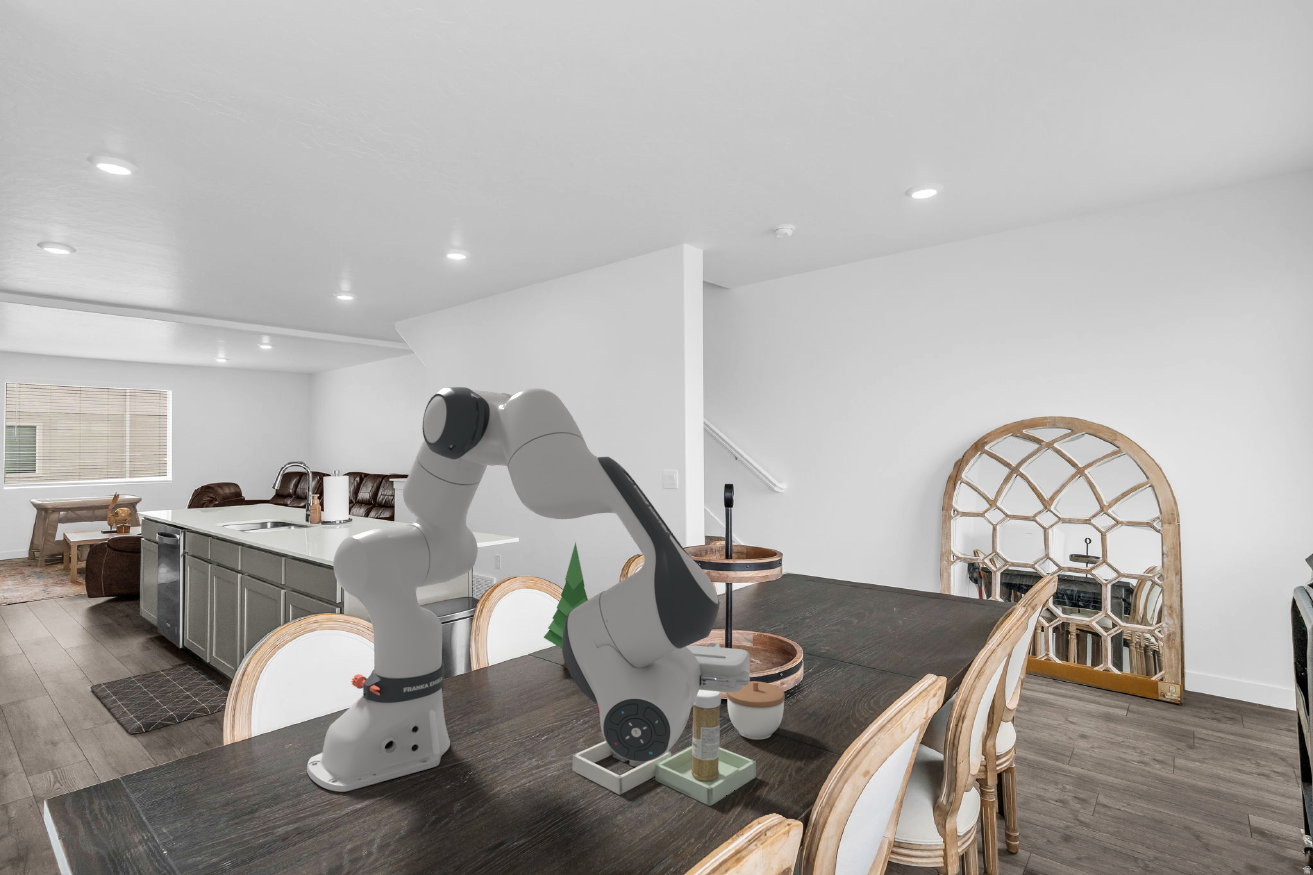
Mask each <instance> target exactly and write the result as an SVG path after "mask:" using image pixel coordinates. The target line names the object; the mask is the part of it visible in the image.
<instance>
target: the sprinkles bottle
mask: <svg viewBox="0 0 1313 875" xmlns="http://www.w3.org/2000/svg"><path fill="white" fill-rule="evenodd" d="M721 693H722V692H719V691H708V690H699V691H698V694H697V696H696V699H695V702H694V704H693V706H692V708H693V709H692V710H693V711H692V714H693V715H692V734H691V735H692V736H691V737H692V739H691V741H692V743H691V746H692V754H693V755H692V770H691V773H692V775H693V777H694V778H696V779H698V780H702V781H710V780H714V779H716V778H717V777H718V776H719V770H718V764H719V759H718V758H719V747H720V735H721V734H720V733H721V732H720V731H721V730H720V726H721V724H720V707H721V704H722V703H721V702H722V699H721V698H722V695H721Z"/></svg>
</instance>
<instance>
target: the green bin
mask: <svg viewBox="0 0 1313 875" xmlns="http://www.w3.org/2000/svg"><path fill="white" fill-rule="evenodd" d="M692 755H693V754H692V745H691V746H689V747H687V748H685V749H683V750H681V751H679V752H677V753H675V754H674V755H671V757H670V758H668V759H666V760H664V761H662V762H660V763H658V764H656V767H655V776H654V777H655V778H654V779H655V781H656V782H657V783H660V784H662V785H664V786H665V787H668V788H670V789H672V790H675V791H677V792H679V793H681V794H683V795H685V796H687V797H690V798H691V799H694V800H695V801H698V802H700V803H702V804H705V805H706V806H709V807H712V806H713V805H714V804H717V803H718V802H719V801H721V800H722V799H724V798H726V797H727V796H728V795H730V794H732V793H733V792H735V791H737V790H738V789H739V788H741V787H743V786H744V785H745V784H747V783H749V782H750V781H752V780H753V779H755V778H757V775H756V774H757V770H756V769H757V768H756V766H757V761H756V760H753V759H750V758H748V757H745V756H743V755H740V754H738V753H735V752H734V751H733V752H732V751H730V750H727V749H725V748H724V747H721V746H719V758H718V759H719V764H718V770H719V776H718V777H717V778H716V779H714V780H710V781H702V780H698V779H696V778H694V777H693V775H692V773H691V770H692ZM734 790H735V791H734ZM726 795H727V796H726Z"/></svg>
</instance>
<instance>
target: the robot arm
mask: <svg viewBox="0 0 1313 875" xmlns="http://www.w3.org/2000/svg"><path fill="white" fill-rule="evenodd" d="M422 436H423V438H424V439H423V442H422V443H421V445H420V447H419V450H418V452H417V455H416V456H415V460H414V461H413V464H412V467H411V469H410V471H409V474H408V476H407V478H406V481H405V483H404V486H403V487H402V488H403V489H402V496H403V501H404V504H405V506H406V507H407V509H408V511H409V512H411V514H413V516H415V517H416V518H415V520H414V521H413V522H411V524H407V525H399V526H390V527H389V526H388V527H380V528H379V527H378V528H373V529H369V530H365V531H363V532H359V533H356V534H353V535H351V536H347V537H346V538H344V539H343V540H342V541H341V542H340V543H339V545H338V547H337V549H336V551H335V554H334V556H333V564H332V565H333V573H334V577H335V580H336V581H337V583H338V585H339V586H340V588H342V589H343V590H344V591H345V592H346V593H347V594H349V595H350V596H352V597H354V598H355V599H356V600H358V601H359V602H360V603H361V605H362V606H363V607H364V609H365V610H366V612H367V615H368V616H369V620H370V621H371V626H372V632H373V633H372V634H373V650H374V651H373V652H374V655H373V656H374V662H373V663H374V665H373V668H374V669H373V670H371V673H370V675H368V677H366V676H363V674H359V673H358V674H355V675H354V676H353V678H352V679H351V685H353V687H355V688H357V689H359V690H360V689H361V690H362V691H363V692H362V693H363V694H362V695H361V696H360V697H359V698H358V699H357V700H356V701H355V702H354V703H353V704H352V705H351V707H348V709H347V710H346V711H344V713H343V714H341V715H340V716H339V717H338V718H337V719H336V720H335V721H333V722H332V723H331V724H330V725H329V727H328V729H327V731H326V734H325V737H324V742H323V746H322V747H323V748H322V752H320V753H318V754H316V755H314V756H311V757H310V758H309V760H308V762H307V766H306V772H307V774H308V777H309V778H310V779H311V780H312V781H313V782H314V783H316V784H317V785H318V786H319V787H322V788H324V789H326V790H329V791H333V792H339V793H340V792H341V793H344V792H345V793H346V792H349V791H353V790H357V789H361V788H364V787H368V786H371V785H375V784H379V783H382V782H384V781H389V780H392V779H396V778H399V777H403V776H407V775H411V774H414V773H418V772H420V771H426V770H428V769H431V768H435V767H437V766H439V765H440V763H441V758H442V756H443V755H444V754H445V753H446V752H447V751H448V750H449V748H450V746H451V740H450V738H449V733H448V730H447V725H446V717H445V711H444V703H443V702H444V701H443V693H444V689H445V664H444V663H443V662H442V661H443V660H442V659H443V658H442V655H443V651H442V650H443V624H442V622H441V619H440V617H438V616H437V614H435V613H434V612H432V611H431V610H429V609H427V608H424V607H422V606H420V603H419V602H418V597H417V588H422V587H427V586H432V585H437V584H442V583H447V582H450V581H452V580H454V579H456V578H460V577H461V576H463V575H466V574H468V573H469V572H470V571H472V569H473V568H474V566H475V564H476V563H477V562H476V561H477V557H478V543H477V539H476V537H475V535H474V533H473V532H472V530H471V529H470V528H469V527H468V526H467V516H468V512H469V510H470V506H471V505H472V504H471V503H472V501H473V500H474V497H475V495H476V493H477V490H478V488H479V486H480V483H481V481H482V478H483V476H484V474H485V472H486V470H487V467H488V466H491V467H492V466H493V467H494V466H502V467H503V466H505V467H506V468H507V469H508V473H509V476H510V480H511V482H512V485H513V488H514V491H515V493H516V496H518V498H519V500H520V502H521V504H522V505H524V506H525V507H526V508H527V509H528V510H529V511H531V512H532V513H534V514H536V515H538V516H540V517H541V516H542V517H543V518H544V517H545V518H548V519H554V520H555V519H556V520H573V519H578V518H582V517H586V516H592V515H596V514H597V515H598V514H599V515H600V514H615V515H616V516H617V517H618V519H619V520H620V522H621V523H622V525H623V527H624V528H625V529H626V531H627V532H628V534H629V535H630V537H631V538H632V540H633V542H634V543H635V545H637V547H638V549H639V550H640V552H641V553H642V554H643V558H644V561H643V564H642V566H641V568H639V570H638V571H636V572H635V573H633V574H631V575H629V576H628V577H626V578H625V579H623V580H621V581H619V582H618V583H616V584H615V585H612V586H611V587H609V588H608V589H606V590H603V591H602V592H599V593H598V594H597V595H594V596H593V597H591V598H590V599H589V598H588V601H586V602H584V603H583V604H581V605H579V606H578V607H576V608H575V609H573V610H571V611H570V612H569V614H568V616H567V618H566V621H565V624H564V629H563V638H562V648H561V652H562V656H563V657H562V658H563V661H565V664H566V666H567V668H566V669H567V670H568V673H569V674H570V677H571V678H572V680H573V682H574V683H575V684H576V685H577V687H578V688H579V689H580V691H581V693H583V694H584V695H585V697H587V698H588V699H589V700H590V701H592V702H593V703H594V704H595V705H596V706H597V705H598V706H599V712H600V715H599V724H600V729H601V730H600V731H601V734H602V736H603V739H604V741H606V743H607V744H608V746H609V747H610V749H611V750H612V751H613V752H614V753H616V754H617V755H619V756H620V757H622V758H624V759H627V760H628V761H630V760H631V761H636V762H647V761H651V760H654V759H657V758H659V757H661V756H663V755H664V754H665V753H667V752H668V751H670V750H671V749H672V747H674V745H675V743H677V741H678V740H679V738H680V737H681V735H682V733H683V732H684V730H685V727H686V726H687V723H688V720H689V717H690V714H691V710H692V708H693V704H694V702H695V699H696V696H697V694H698V691H699V690H708V691H719V692H720V693H727V692H736V691H739V690H741V689H742V688H743V687H744V686H747V685H748V684H749V681H751V676H750V669H751V668H750V665H751V664H750V663H751V655H750V652H748V651H747V650H745V649H742V648H728V647H721V644H720V643H715V642H709V644H708V646H706V645H693V644H694V643H697V642H699V641H701V640H704V639H706V638H708V637H709V636H710V634H711V632H712V630H713V628H714V625H715V622H716V621H717V617H718V615H719V614H718V613H719V609H720V605H721V604H720V600H719V597H718V593H717V591H716V588H715V586H714V585H713V582H712V581H711V579H710V577H709V576H708V575H707V573H706V572H705V571H704V570H703V569H702V568H701V567H700V565H699V564H698V563H697V562H695V561H694V559H693V558H692V557H691V556H690V555H689V554H688V552H687V550H686V549H685V548H684V547H683V546H682V545H681V544H682V543H680V541H679V540H678V539H677V537H676V535H674V533H673V532H672V531H671V529H670V527H669V526H668V525H667V523H666V522H665V521H664V518H662V516H661V515H660V513H659V512H658V511H657V510H656V507H654V505H653V504H652V502H651V501H650V499H649V498H648V497H647V495H646V494H645V493H644V491H643V490H642V488H640V486H639V485H638V484H637V482H636V481H635V480H634V479H633V477H632V476H631V475H630V474H629V473H628V471H627V470H626V469H625V468H624V467H623V466H622V465H621V464H620V463H618V462H617V461H616V460H614V459H613V458H611V457H610V456H599V457H598V456H596V455H594V454H593V453H592V452H591V450H590V449H589V448H588V446H587V444H586V441H585V438H584V437H583V434H582V432H581V430H580V428H579V426H578V424H577V422H576V421H575V419H574V418H573V415H572V414H571V413H570V411H569V409H568V408H567V406H566V405H565V403H563V401H562V400H561V399H560V397H559V396H557V395H556V394H555V393H553V392H552V391H550V390H547V389H544V388H526V389H524V390H521V391H519V392H517V393H515V394H514V395H513V394H509V393H505V392H503V393H501V392H498V393H497V392H493V391H484V390H475V389H470V388H468V387H465V386H462V387H461V386H460V387H459V386H452V387H443V388H441V389H440V390H438V391H437V392H436V393H435V394H434V395H433V396H432V397H431V398H430V399H429V401H428V403H427V404H426V407H425V410H424V413H423V418H422Z"/></svg>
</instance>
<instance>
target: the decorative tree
mask: <svg viewBox="0 0 1313 875" xmlns="http://www.w3.org/2000/svg"><path fill="white" fill-rule="evenodd" d="M564 579H565V583H564V587H563V590H562V592H561V594H560V596H561V597H560V599H559V602H558V604H557V606H556V611H555V613H554V615H553V617H552V622H551V623H550V624H549V625H548V627H547V629H548V631H547V632H546V634H544V636H543V638H544V639H545V640H547V641H548V642H550V643H552V644H553V645H555V646H556V647H558V648H560V649H562V638H563V629H564V624H565V621H566V618H567V616H568V614H569V612H570V611H571V610H573V609H575V608H576V607H578V606H579V605H581V604H583V603H584V602H586V601H588V600H589V598H588V595H587V592H586V590H585V583H584V582H585V581H584V576H583V571H582V567H581V562H580V556H579V552H578V548H577V542H576V541H575V542H574V546H573V549H572V553H571V557H570V560H569V565H568V568H567V572H566V575H565V578H564ZM563 661H564V660H563ZM563 664H564V667H563V668H565V669H568V668H567V666H566V664H565V661H564V663H563Z"/></svg>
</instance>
